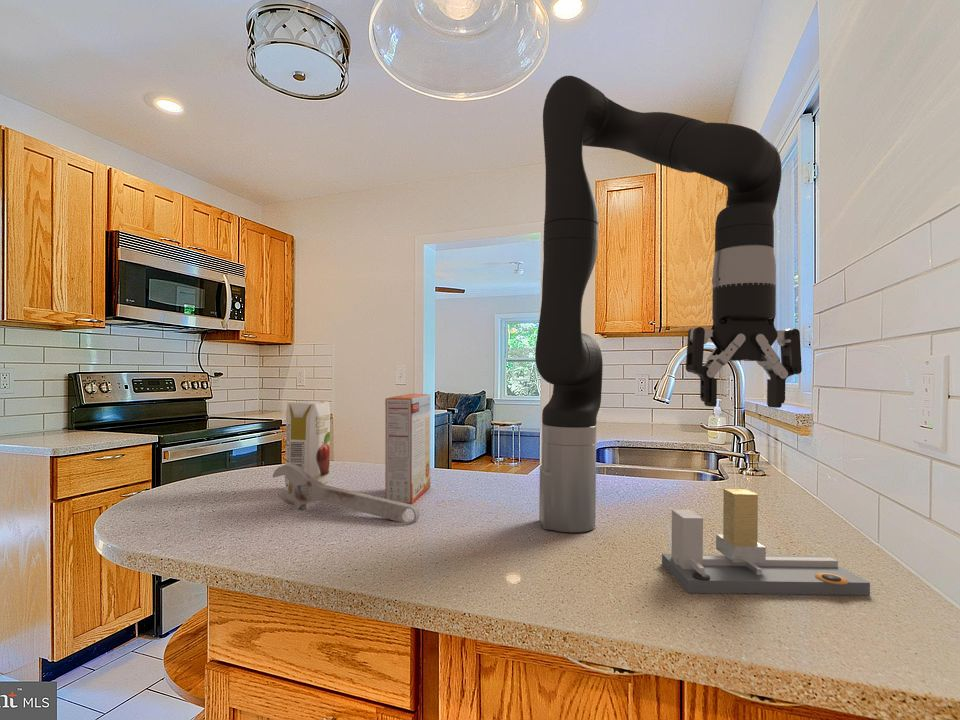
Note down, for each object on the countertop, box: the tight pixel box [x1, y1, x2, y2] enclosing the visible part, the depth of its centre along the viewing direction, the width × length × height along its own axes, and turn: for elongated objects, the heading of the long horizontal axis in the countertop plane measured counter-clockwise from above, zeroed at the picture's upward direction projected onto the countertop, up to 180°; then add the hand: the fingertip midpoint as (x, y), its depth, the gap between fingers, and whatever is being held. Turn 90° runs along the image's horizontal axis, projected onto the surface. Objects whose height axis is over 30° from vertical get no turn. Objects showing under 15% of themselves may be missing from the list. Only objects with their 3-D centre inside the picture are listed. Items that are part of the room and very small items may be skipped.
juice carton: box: [284, 400, 331, 491], centre depth 111 cm, size 8×9×19 cm
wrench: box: [272, 464, 421, 524], centre depth 94 cm, size 8×2×30 cm
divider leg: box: [715, 488, 767, 575], centre depth 67 cm, size 4×7×9 cm, turn 0°
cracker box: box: [384, 393, 431, 505], centre depth 108 cm, size 14×6×21 cm, turn 170°
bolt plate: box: [661, 509, 871, 596], centre depth 67 cm, size 22×10×8 cm, turn 90°
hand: (742, 406), depth 69 cm, fingers open, 8 cm apart
